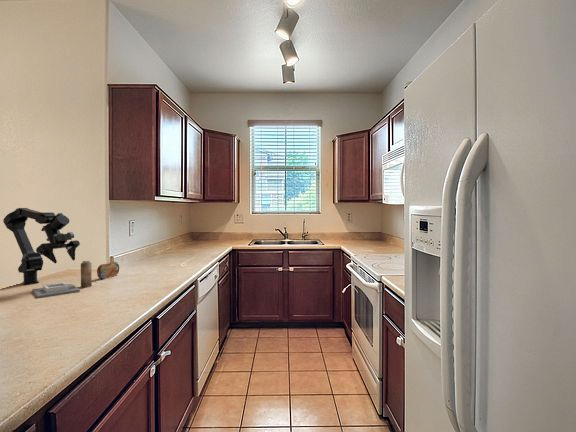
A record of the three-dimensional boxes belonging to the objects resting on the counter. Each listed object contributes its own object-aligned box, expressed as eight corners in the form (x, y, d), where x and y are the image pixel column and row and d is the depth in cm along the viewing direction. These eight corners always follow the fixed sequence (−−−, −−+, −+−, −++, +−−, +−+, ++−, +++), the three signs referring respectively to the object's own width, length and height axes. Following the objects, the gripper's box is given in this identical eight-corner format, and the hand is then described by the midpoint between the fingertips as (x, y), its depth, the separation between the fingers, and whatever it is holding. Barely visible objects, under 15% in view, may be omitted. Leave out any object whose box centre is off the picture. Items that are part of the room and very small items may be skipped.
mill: (79, 286, 166) (79, 261, 165) (90, 284, 169) (89, 260, 169) (82, 288, 163) (82, 262, 162) (92, 286, 166) (92, 261, 165)
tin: (100, 280, 180) (100, 265, 180) (95, 280, 181) (95, 264, 180) (119, 274, 195) (119, 260, 195) (115, 274, 195) (115, 260, 195)
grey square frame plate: (32, 291, 155) (32, 285, 155) (71, 285, 167) (71, 280, 167) (38, 298, 144) (37, 291, 144) (79, 291, 156) (79, 285, 155)
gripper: (43, 227, 154) (55, 256, 151) (80, 225, 171) (92, 251, 169) (30, 239, 157) (42, 267, 155) (68, 236, 175) (79, 261, 172)
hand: (65, 261), depth 163 cm, fingers open, 9 cm apart
